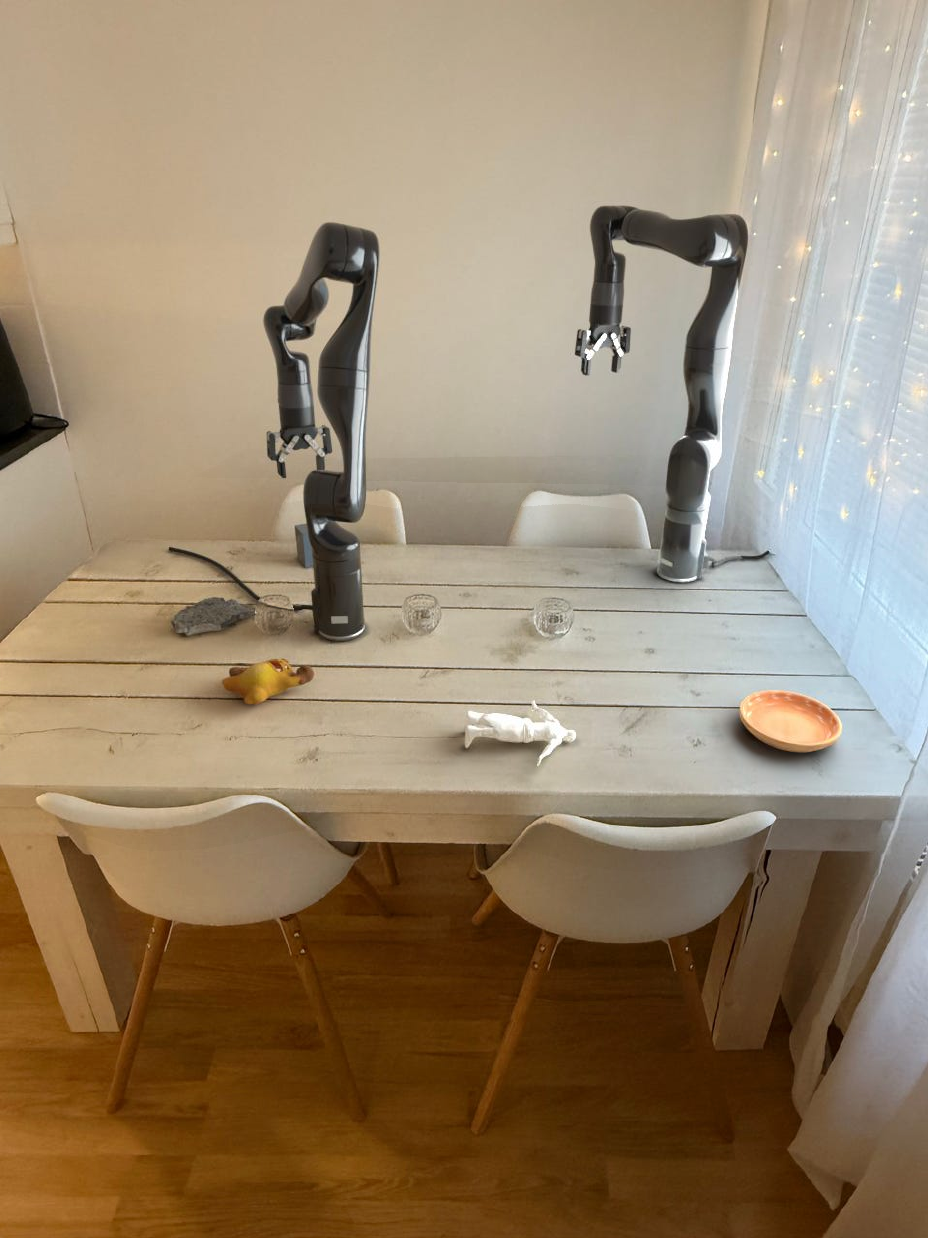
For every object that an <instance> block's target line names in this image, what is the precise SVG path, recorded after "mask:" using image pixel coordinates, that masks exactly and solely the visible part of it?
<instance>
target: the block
mask: <svg viewBox="0 0 928 1238" xmlns="http://www.w3.org/2000/svg"><path fill="white" fill-rule="evenodd" d="M294 535H295V545H296V555H297V559H298V560H299V562H300V563H301V565H303V566H304V568H305V569H306V568H311V567H312V568H313V559H312V548H311V545H310V543H309V538H308V530H307V522H306V523H300V524H296V525H294Z"/></svg>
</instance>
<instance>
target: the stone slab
mask: <svg viewBox="0 0 928 1238" xmlns="http://www.w3.org/2000/svg"><path fill="white" fill-rule="evenodd" d="M255 610H256V607H255V606H253V605H252V604H246V603H243V604H241V603H239V601H237V600H236V599H232V598H231V599H228V600H226V599H225V598H224V597H217V596H212V597H208V598H203V600H200V601H198V602H196V603H195V604H193V605H186V606H185V607H184V608H183V609H180V610H179V611H178V612H177V613H176V614H174V615H173V617H172V619H171V621H170V623H171V626H173V629H174V633H177V634H182V635H184V636H186V637H187V636H194V635H197V634H201V633H207V632H216V631H218V632H219V631H222V630H224V629H225V628H227V627H228V626H229V625H230V624H232V623H233V622H236V621H239V620H245V619H246V618H248V617H252V616H255V615H256V614H255Z"/></svg>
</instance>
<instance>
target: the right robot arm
mask: <svg viewBox="0 0 928 1238" xmlns="http://www.w3.org/2000/svg"><path fill="white" fill-rule="evenodd" d="M589 233H590V241H591V245H592V246H591V247H592V252H593V258H594V267H593V279H592V280H593V281H592V286H591V292H590V304H589V316H588V317H589V318H588V322H589V328H588V329H581V328H579V329H577V332H576V340H575V348H574V355H575V356H576V357H579V358H581V366H580V372H581V374H582V375H583V376H590V375H591V366H592V359H591V358H592V357H593V356H594V354H595V353H596V352H597V351H598V350H599V349H604V348H607V349H610V350H611V351H612V354H613V355H612V356H611V357H612V358H611V365H610V366H611V368H610V370H611V372H612V373H615V374H616V373H619V372H620V370H621V366H622V357H623V356H624V355H625V354H629V353H630V351H631V336H632V335H631V334H632V333H631V332H632V328H631V327H630V326H626V325H622V326H621V327H620V325H621V324H622V321H623V320H622V319H623V310H624V299H625V278H626V266H627V257H626V256H625V254H623V253H621V252H618V251H615V250H614V245H613V241H625V242H626V243H627V244H629V245H632V246H636V247H641V248H646V249H651V250H656V251H662V252H666V253H668V254H670V255H673V256H676V257H677V258H679V259H681V260H683V261H685V262H687V263H689V264H691V265H693V266H696V267H699V268H711V269H710V270H711V271H710V279H709V286H708V289H707V293H706V295H705V298H704V300H703V302H702V304H701V306H700V307H699V310H698V311H697V312H696V314H695V316H694V318H693V320H692V322H691V324H690V326H689V328H688V330H687V332H686V336H685V340H684V341H685V342H684V349H683V350H684V351H683V361H682V362H683V363H682V375H683V380H684V381H683V382H684V386H685V391H686V396H687V404H688V405H687V418H686V424H685V430H684V435H683V437H681V438H680V439H678V440H677V441H676V442H675V443H674V444H673V445H672V447H671V449H670V452H669V456H668V461H667V470H666V480H665V481H666V482H665V493H666V504H665V510H664V517H663V526H662V533H661V542H660V548H659V555H658V563H657V567H656V574H657V575H658V577H660V578H661V579H664V580H666V581H669V582H673V583H691V582H694V581H696V580H701V578H702V572H703V569H708V566H709V565H708V564H709V561H710V562H711V566H712V567H714V568H715V567H718V566H720V565H722V564H724V563H726V562H728V561H731V560H759V559H762V558H765V557H766V556H768V555H769V554H770V553H769V551H768V550H766V551H765V552H763V553H761V554H758V555H731V556H726V557H724V558H722V559H720V560H718V561H717V560H716V558H714V557H711V556H710V555H709V554H708V553H707V552H706V548H707V540H706V539H705V532H706V526H707V522H708V521H707V520H708V515H709V508H710V503H711V494H710V493H709V491H708V490H709V489H708V488H709V481H710V476H711V475H710V474H711V470H712V469H713V468H714V467H715V466H716V465H717V463H718V462H719V460H720V458H721V456H722V445H723V444H722V440H723V439H722V433H723V431H722V430H723V427H722V424H723V423H722V422H723V419H722V418H723V405H724V399H725V394H726V389H727V382H728V374H729V368H730V362H731V353H732V344H733V330H734V323H735V316H736V310H737V301H738V296H739V290H740V286H741V280H742V275H743V270H744V267H745V262H746V258H747V254H748V253H747V252H748V245H749V229H748V224H747V222H746V220H745V219H744V218H743V216H741V215H740V214H736V213H723V214H721V213H720V214H719V213H718V214H707V215H704V216H700V217H692V218H683V219H682V218H681V219H680V218H679V219H678V218H672V217H671V216H669V215H667V214H665V213H664V212H659V211H654V210H648V209H640V208H639V207H635V206H632V205H601V206H598V207H597V208H596V209H595V210H594V212H593V213H592V215H591V218H590V222H589ZM618 337H619V340H618Z"/></svg>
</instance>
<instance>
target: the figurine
mask: <svg viewBox="0 0 928 1238" xmlns="http://www.w3.org/2000/svg"><path fill="white" fill-rule="evenodd" d="M529 707H530V708H531V711H530V713H532V712H535V713H536V714H537V716H538V717H539V719H541V720H543V721H544V722H532V720H531V719H530V718H528V717H522V718H521V717H518V716H514V715H510V714H504V713H496V712H495V713H493V712H490V714H489V713H487V714H486V713H482V712H475V711H472V710H471V711H470V710H468V711H467V712H466V719H465V724H464V732H465V734H464V747H465V748H466V749H468V748H469V747H470V745H471V744H472V742H473V740H474V739H475V738H482V737H483V738H484V737H485V738H492V739H495V740H498V741H499V742H509V743H522V742H523V743H525V744H530V743H531V742H533V741H544V742H547V743H548V744H547V745H546V746H545V748H544V749H543V751H542V752H541V754H540V755H539V757H538V758H537V762H536V767H539V766H540V765H541V761H542V760H543V758H545V757H547V756H549V755H550V754H551V753H552V751H553V750H554V749H555V748H556V747H557V746H559V745H561V744H562V742H563V741H565V742H570V743H571V742H574V740H575V739H576V738H577V737H576V736H577V734H576V732H575V730H574V729H565V727H563V726H561V725H560V722H559V720H558V719H557V718H554V717H553V715H552V714H550V713H549V712H548V711H547V710H545V709H543V708H541V707H538V706H537V703H535V700H534V699H533V700H532V702H531V705H530V706H529ZM476 725H477V726H484V727H477V726H476Z"/></svg>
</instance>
